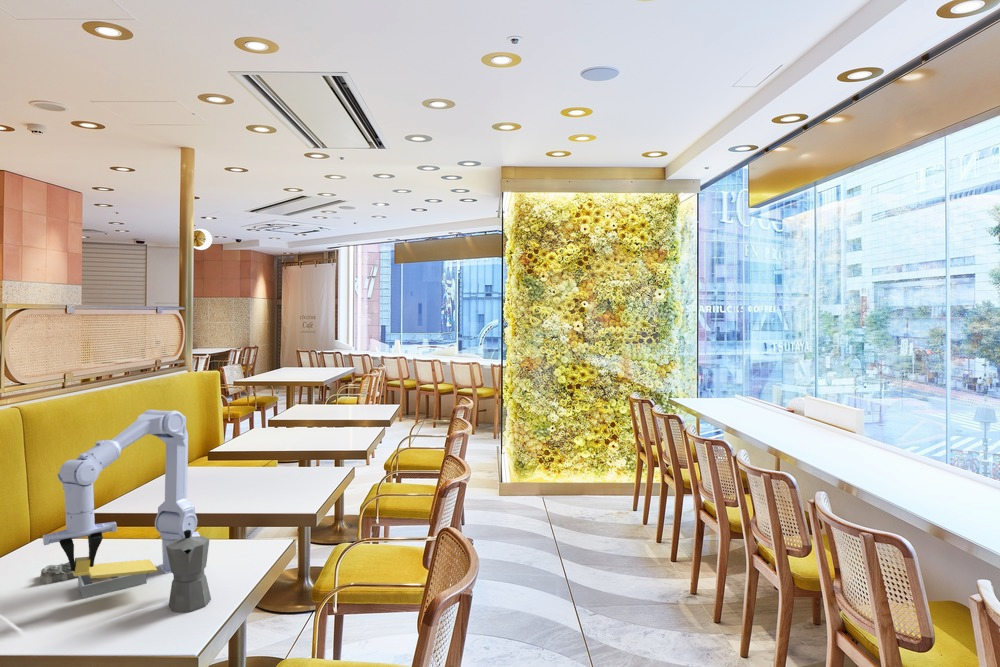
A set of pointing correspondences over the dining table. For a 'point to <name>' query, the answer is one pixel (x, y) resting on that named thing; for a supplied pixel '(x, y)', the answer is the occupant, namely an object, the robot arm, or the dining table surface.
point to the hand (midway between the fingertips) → (82, 567)
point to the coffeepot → (188, 573)
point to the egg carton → (56, 573)
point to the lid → (112, 568)
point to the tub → (108, 584)
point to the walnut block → (100, 580)
